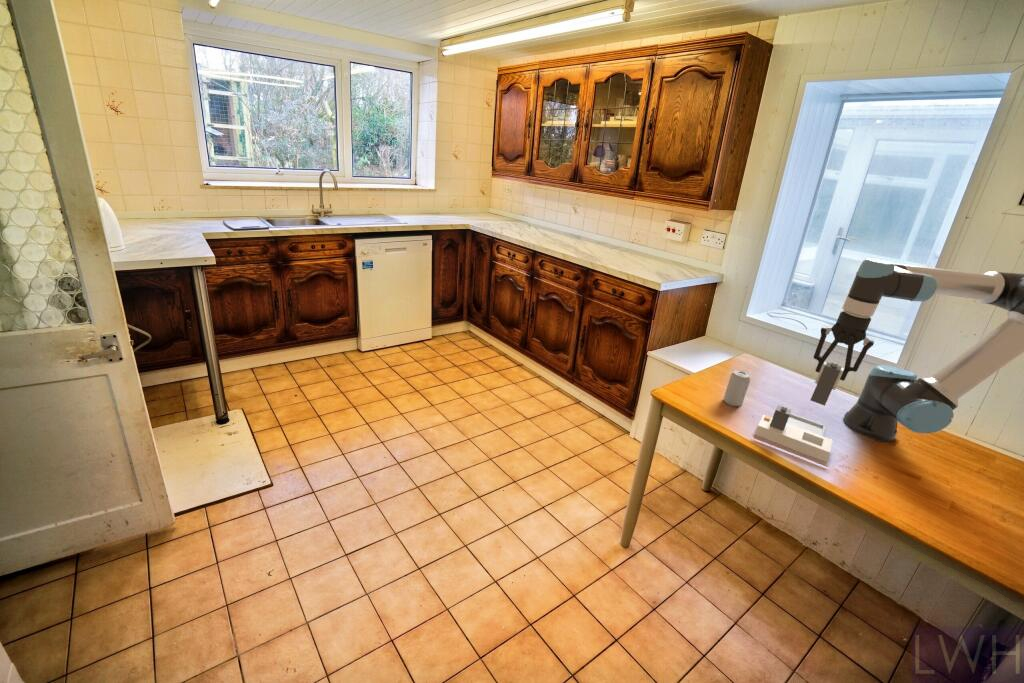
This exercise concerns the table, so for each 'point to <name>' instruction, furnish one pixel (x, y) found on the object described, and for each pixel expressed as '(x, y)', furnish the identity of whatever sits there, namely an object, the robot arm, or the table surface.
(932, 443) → the table surface
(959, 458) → the table surface
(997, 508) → the table surface
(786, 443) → the strip
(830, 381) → the plug
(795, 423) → the tray
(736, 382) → the beverage can
